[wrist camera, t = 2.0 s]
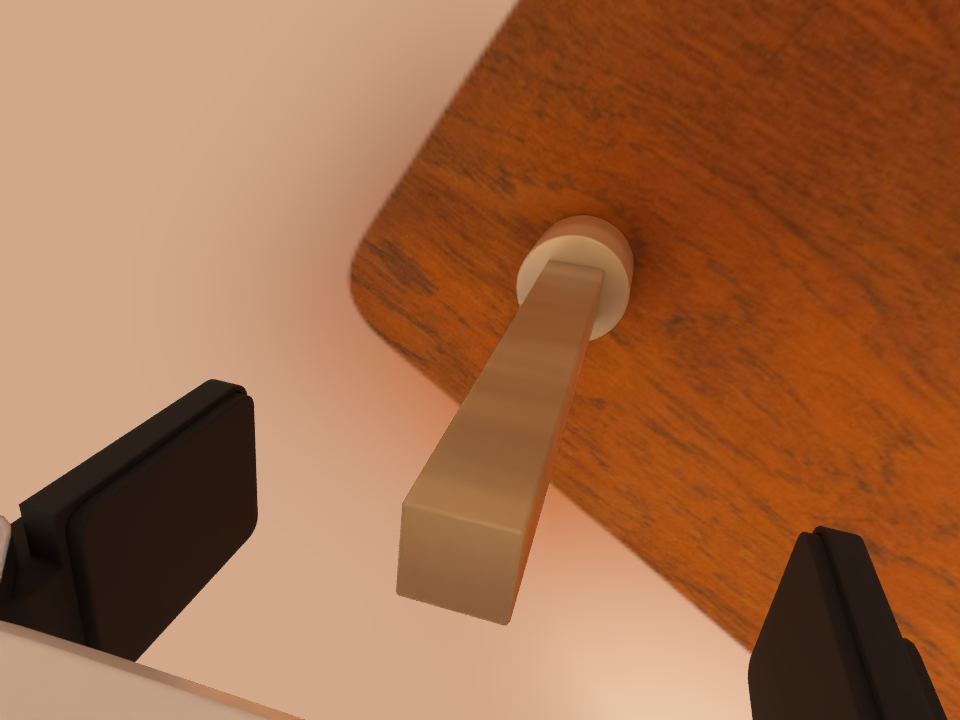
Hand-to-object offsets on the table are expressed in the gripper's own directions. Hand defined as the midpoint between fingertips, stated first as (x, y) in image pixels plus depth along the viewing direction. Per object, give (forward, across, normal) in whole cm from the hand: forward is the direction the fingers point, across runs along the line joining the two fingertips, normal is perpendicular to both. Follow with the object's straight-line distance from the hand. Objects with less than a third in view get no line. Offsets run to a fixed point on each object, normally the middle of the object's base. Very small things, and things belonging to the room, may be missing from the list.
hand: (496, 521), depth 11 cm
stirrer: (+14, 0, -1) cm, 14 cm away
